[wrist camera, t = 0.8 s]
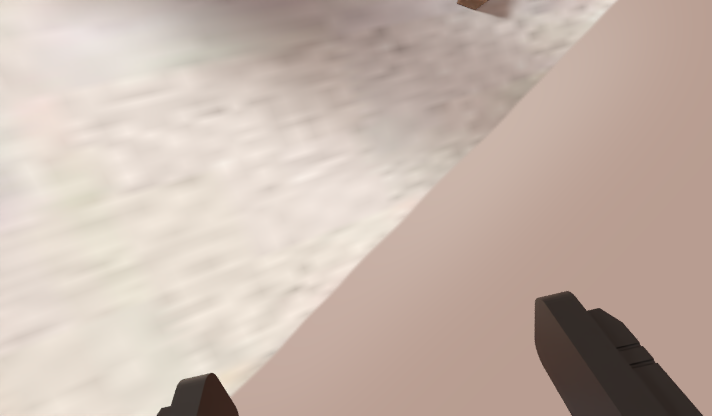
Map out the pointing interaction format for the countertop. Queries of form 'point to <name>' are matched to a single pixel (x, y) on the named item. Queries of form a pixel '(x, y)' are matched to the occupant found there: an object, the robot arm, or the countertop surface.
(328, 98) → the countertop surface
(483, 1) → the channel
